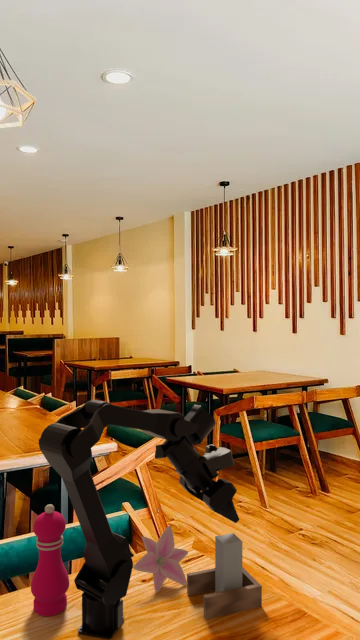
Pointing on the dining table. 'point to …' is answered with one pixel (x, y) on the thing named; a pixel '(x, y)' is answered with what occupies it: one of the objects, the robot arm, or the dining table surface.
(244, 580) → the bay
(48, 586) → the pepper mill
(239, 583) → the tall grey pillar block
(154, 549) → the lily
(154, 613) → the dining table surface
